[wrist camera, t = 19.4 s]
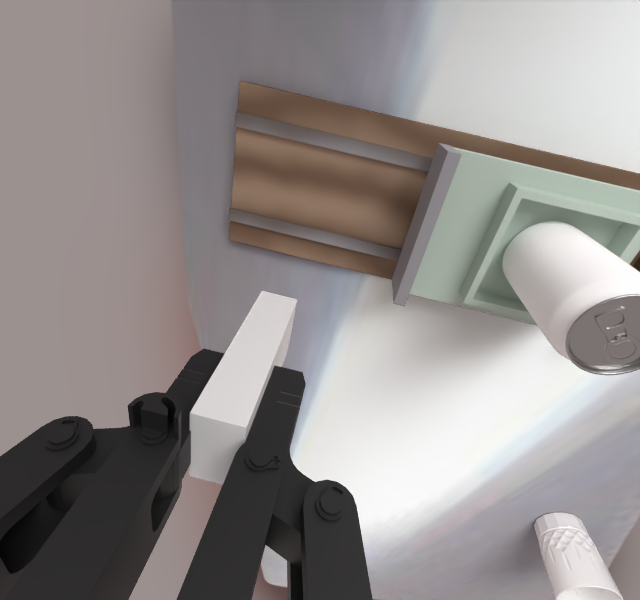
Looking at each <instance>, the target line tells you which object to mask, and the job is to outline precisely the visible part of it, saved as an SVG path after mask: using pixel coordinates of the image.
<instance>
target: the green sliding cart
mask: <svg viewBox="0 0 640 600" xmlns="http://www.w3.org/2000/svg"><path fill="white" fill-rule="evenodd" d="M549 221H558V222H564V223H567V224H570V225H572V226H574V227H575V228H577V229H578V230H580V231H581V232H583V233H584V234H586V235H587V236H589V237H590V238H592V239H593V240H595V241H596V242H598V243H599V244H600V245H602V246H603V247H605V248H606V249H608V250H609V251H611V252H612V253H613V254H615V255H616V256H618V257H619V258H621V259H622V260H623V261H625V262H626V263H628V264H630V263H631V262H632V260H633V259H634V257H635V256H636V255H637V253H638V252H639V250H640V191H639V190H635V189H630V188H626V187H622V186H618V185H613V184H609V183H605V182H600V181H596V180H592V179H588V178H583V177H579V176H575V175H571V174H566V173H562V172H558V171H553V170H549V169H545V168H541V167H536V166H532V165H528V164H523V163H519V162H515V161H511V160H506V159H502V158H498V157H494V156H489V155H485V154H481V153H476V152H472V151H468V150H464V149H459V148H455V147H452V146H450V145H446V144H442V143H438V145H437V148H436V151H435V154H434V157H433V160H432V163H431V166H430V169H429V172H428V175H427V178H426V181H425V184H424V187H423V189H422V192H421V195H420V198H419V201H418V204H417V207H416V210H415V213H414V216H413V219H412V222H411V225H410V228H409V231H408V234H407V236H406V239H405V242H404V245H403V248H402V251H401V254H400V257H399V260H398V263H397V266H396V269H395V272H394V275H393V278H392V286H393V301H394V304H397V305H401V306H405V304H406V301H407V299H408V296H409V294H411V295H415V296H419V297H424V298H428V299H432V300H436V301H440V302H444V303H448V304H452V305H456V306H460V307H464V308H469V309H473V310H477V311H481V312H485V313H489V314H493V315H497V316H501V317H505V318H510V319H514V320H518V321H522V322H526V323H530V324H534V325H537V324H536V322H535V321H534V319H533V318H532V316H531V315H530V313H529V312H528V310H527V309H526V307H525V306H524V304H523V303H522V301H521V300H520V298H519V297H518V295H517V294H516V292H515V291H514V289H513V288H512V286H511V285H510V283H509V282H508V280H507V279H506V277H505V275H504V272H503V268H502V260H503V255H504V253H505V250H506V248H507V246H508V245H509V243H510V242H511V241H512V240H513V239H514V238H515V237H516V236H517V235H518V234H519V233H520V232H522V231H523V230H525V229H527V228H528V227H530V226H533V225H535V224H538V223H542V222H549Z"/></svg>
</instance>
